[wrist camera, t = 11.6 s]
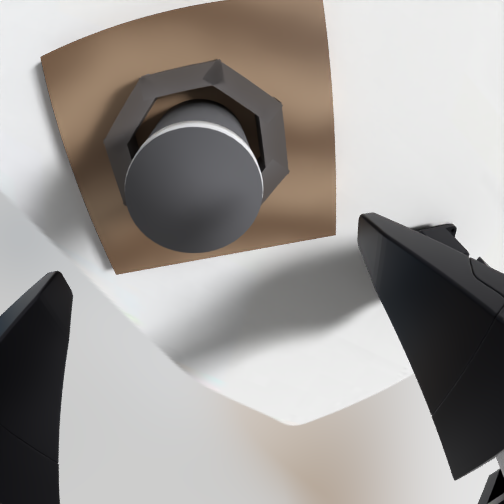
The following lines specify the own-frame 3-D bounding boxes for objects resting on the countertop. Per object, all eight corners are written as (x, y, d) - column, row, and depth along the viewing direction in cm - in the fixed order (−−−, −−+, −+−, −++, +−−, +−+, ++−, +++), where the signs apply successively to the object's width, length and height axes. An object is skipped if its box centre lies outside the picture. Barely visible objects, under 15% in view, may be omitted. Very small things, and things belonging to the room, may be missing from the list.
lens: (250, 176, 19) (270, 241, 13) (164, 192, 19) (147, 264, 13) (237, 90, 16) (254, 114, 10) (143, 110, 16) (106, 147, 10)
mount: (330, 226, 23) (345, 251, 21) (119, 264, 23) (110, 293, 20) (315, -3, 14) (334, -11, 11) (49, 55, 13) (23, 59, 11)
